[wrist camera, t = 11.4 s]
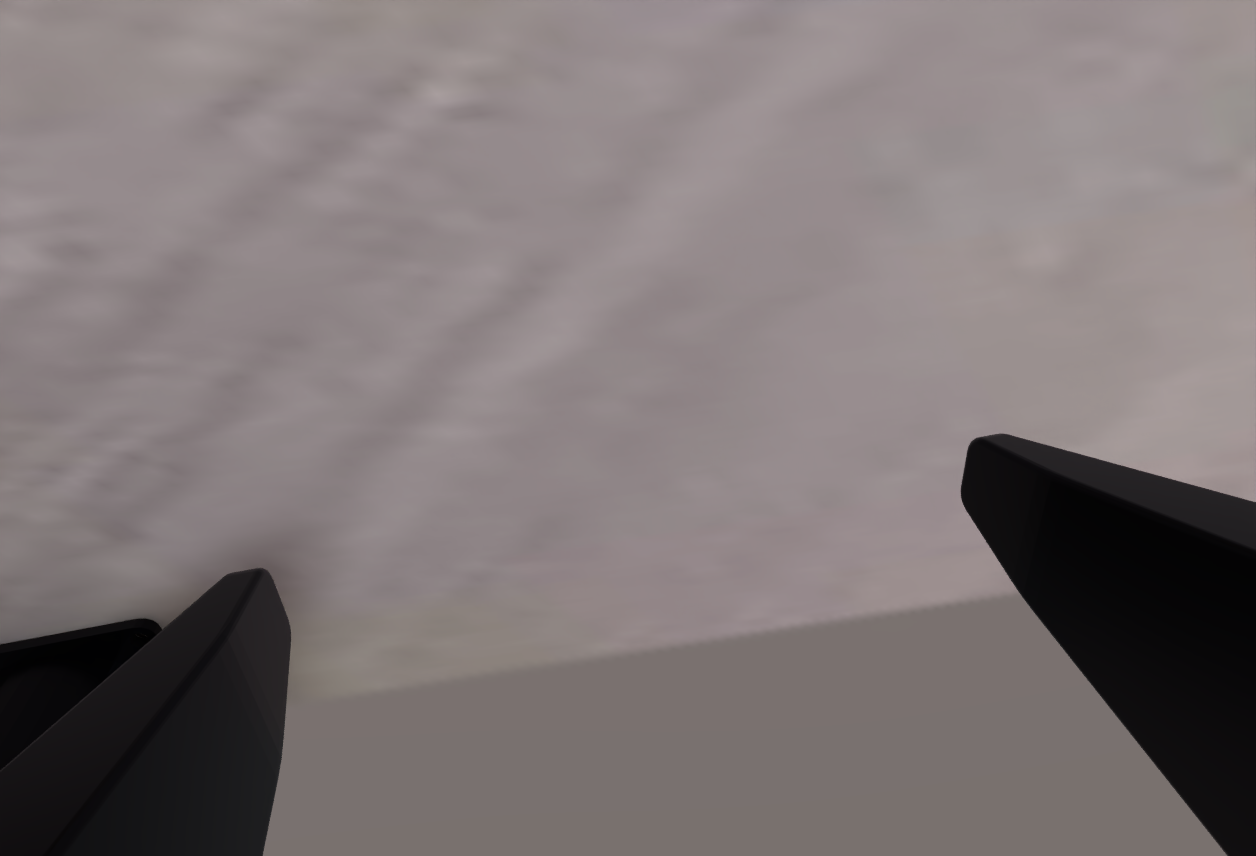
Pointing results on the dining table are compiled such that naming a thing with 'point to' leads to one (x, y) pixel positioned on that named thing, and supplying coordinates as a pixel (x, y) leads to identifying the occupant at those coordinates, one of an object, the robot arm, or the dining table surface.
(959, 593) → the dining table surface
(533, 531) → the dining table surface
